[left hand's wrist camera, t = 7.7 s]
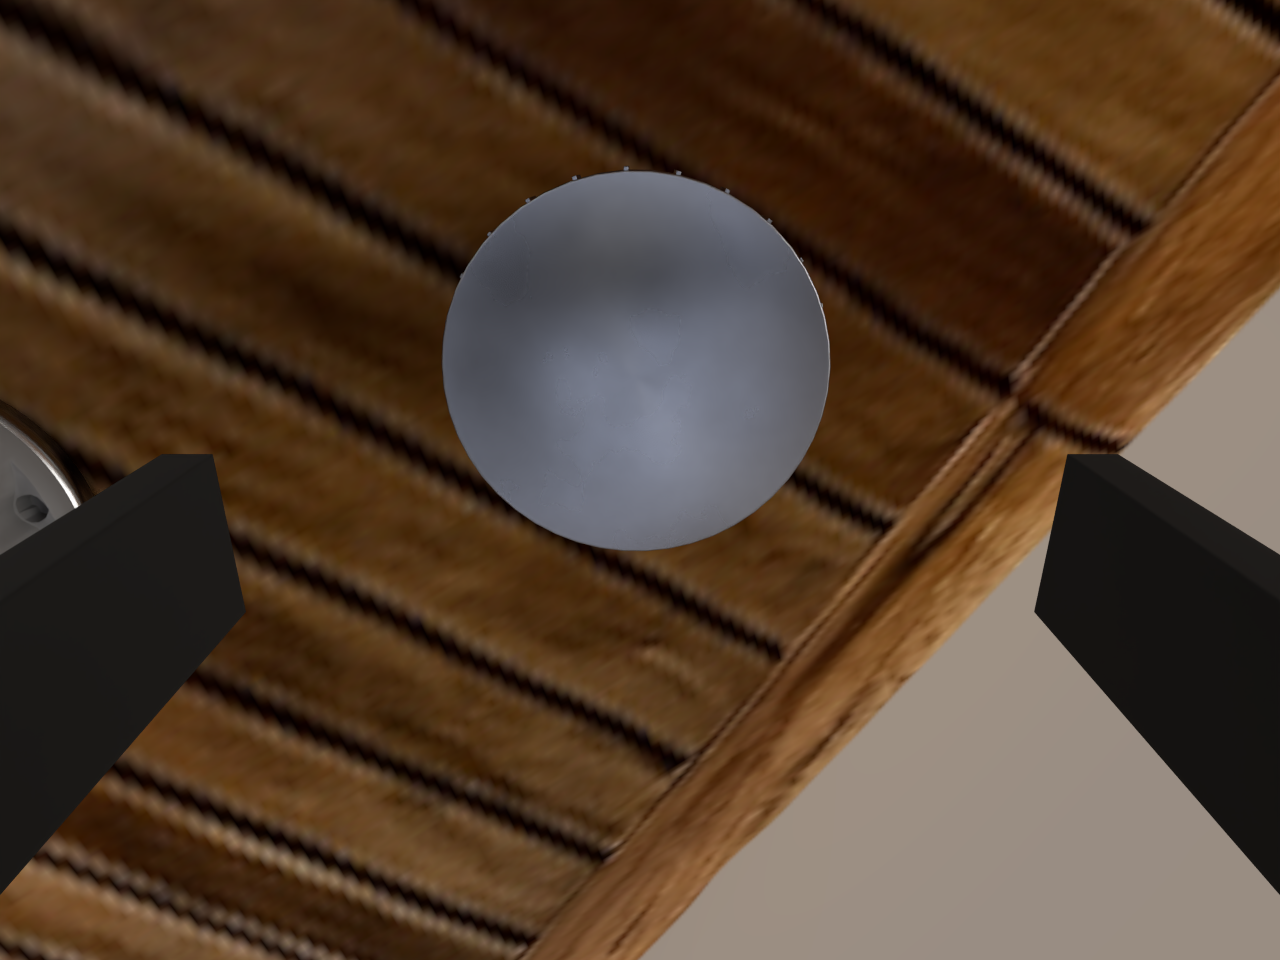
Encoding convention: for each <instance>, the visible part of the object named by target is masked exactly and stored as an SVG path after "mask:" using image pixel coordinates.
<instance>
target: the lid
mask: <svg viewBox="0 0 1280 960" xmlns="http://www.w3.org/2000/svg"><path fill="white" fill-rule="evenodd" d="M572 179H573V181H570V182H567V183H565V184H563V185H561V186H558V187H556V188H554V189H551V190H549V191H547V192H545V193H543V194H541V195H540V196H538V197H536V196H533V197H530V198H528V199H527V200H525V201H526V203H527V204H525V205H523V206H522V207H520V208H519V209H518V210H517V211H516V212H514V213H513V214H512V215H511V216H509V217H508V218H507V219H506V220H505V221H503V222H502V223H501V224H500V225H499V226H498V227H497V228H496V229H495V230H492V231H490V232H489V233H488V234H487V235H488V236H489V237H488V238H487V239H486V240H485V241H484V243H483V244H482V245H481V246H480V248H479V249H478V251H477V252H476V254H475V255H474V257H473V258H472V260H471V261H470V263H469V264H468V265H467V267H466V269H465V271H464V273H462V274H461V276H460V278H461V280H460V282H459V284H458V286H457V288H456V290H455V293H454V296H453V299H452V302H451V305H450V308H449V311H448V314H447V320H446V323H445V324H446V325H445V330H444V336H443V348H442V373H443V384H444V391H445V396H446V400H447V405H448V410H449V413H450V416H451V419H452V422H453V424H454V427H455V430H456V433H457V435H458V437H459V439H460V441H461V443H462V445H463V447H464V449H465V451H466V453H467V455H468V457H469V458H470V460H471V461H472V463H473V464H474V465H475V467H476V468H477V470H478V471H479V473H480V474H481V476H482V477H483V478H484V479H485V480H486V481H487V483H488V484H489V485H490V486H491V487H492V488H493V489H494V490H495V492H496V493H497V494H498V495H499V496H500V497H502V498H503V499H504V500H505V501H506V502H507V503H508V504H510V505H511V506H512V507H513V508H514V509H515V510H517V511H518V512H520V513H521V514H522V515H524V516H525V517H527V518H528V519H530V520H531V521H533V522H534V523H536V524H538V525H540V526H542V527H543V528H545V529H547V530H549V531H551V532H553V533H555V534H557V535H560V536H563V537H565V538H568V539H571V540H573V541H576V542H579V543H583V544H587V545H591V546H595V547H599V548H606V549H614V550H622V551H650V550H659V549H668V548H673V547H677V546H682V545H686V544H691V543H694V542H697V541H699V540H702V539H705V538H708V537H711V536H713V535H716V534H718V533H720V532H722V531H724V530H726V529H728V528H730V527H732V526H734V525H735V524H737V523H738V522H740V521H741V520H743V519H744V518H746V517H748V516H749V515H751V514H752V513H754V512H755V511H756V510H757V509H758V508H760V507H761V506H762V505H763V504H764V503H766V502H767V501H768V500H769V499H770V498H771V497H773V495H774V494H775V493H776V492H777V491H778V490H779V489H780V488H781V487H782V486H783V485H784V483H785V482H786V481H787V480H788V479H789V478H790V476H791V475H792V473H793V472H794V471H795V469H796V468H797V466H798V465H799V464H800V462H801V461H802V459H803V457H804V456H805V454H806V452H807V450H808V448H809V446H810V444H811V442H812V441H813V439H814V436H815V434H816V431H817V428H818V426H819V423H820V420H821V418H822V415H823V410H824V406H825V402H826V398H827V393H828V386H829V375H830V343H829V337H828V331H827V325H826V319H825V315H824V312H823V309H822V307H823V305H822V303H821V302H820V299H819V296H818V293H817V291H816V289H815V286H814V284H813V282H812V280H811V278H810V276H809V274H808V272H807V270H806V268H805V266H804V265H803V263H802V262H803V259H802V258H801V257H799V256H798V255H797V254H796V253H795V251H794V250H793V248H792V247H791V246H790V244H789V243H788V242H787V241H786V240H785V239H784V238H783V236H782V235H781V234H780V233H779V232H778V231H777V230H776V229H775V227H774V226H772V225H771V224H770V223H771V222H772V221H771V220H770V219H769V218H767V217H765V216H763V215H760V214H758V213H757V212H756V211H755V210H754V209H752V208H751V207H749V206H748V205H746V204H745V203H743V202H741V201H740V200H738V199H737V198H735V197H734V196H732V195H731V194H729V192H730V190H728V189H726V188H724V187H721V188H720V189H718V188H715V187H713V186H711V185H709V184H707V183H704V182H702V181H699V180H695V179H692V178H689V177H685V176H682V175H681V171H677V170H674V173H668V172H662V171H655V170H629V166H625V167H624V170H618V171H610V172H603V173H598V174H594V175H590V176H587V177H583V178H581V176H580V175H576V176H573V177H572Z"/></svg>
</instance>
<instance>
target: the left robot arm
mask: <svg viewBox="0 0 1280 960" xmlns="http://www.w3.org/2000/svg"><path fill="white" fill-rule="evenodd" d="M245 612H246V611H245V606H244V601H243V596H242V592H241V587H240V582H239V578H238V573H237V568H236V563H235V559H234V554H233V549H232V544H231V540H230V535H229V530H228V525H227V521H226V516H225V511H224V506H223V502H222V497H221V492H220V487H219V483H218V478H217V473H216V468H215V464H214V459H213V454H162V455H160V456H158V457H157V458H155V459H154V460H152V461H150V462H149V463H147V464H146V465H144V466H142V467H141V468H139V469H138V470H136V471H134V472H133V473H131V474H129V475H128V476H126V477H125V478H123V479H121V480H120V481H118V482H117V483H115V484H113V485H112V486H110V487H109V488H107V489H105V490H104V491H102V492H100V493H99V494H97V495H96V496H94V495H93V493H92V491H91V489H90V487H89V486H88V484H87V482H86V480H85V479H84V477H83V476H82V474H81V473H80V471H79V470H78V468H77V467H76V466H75V464H74V463H73V462H72V461H71V459H70V458H69V457H68V455H67V454H66V453H65V452H64V451H63V450H62V449H61V448H60V447H59V445H58V444H57V443H56V442H55V441H54V440H53V439H52V438H51V437H50V436H48V435H47V434H46V433H45V432H44V431H43V430H42V429H41V428H40V427H38V426H37V425H36V424H35V423H33V422H32V421H31V420H30V419H29V418H27V417H26V416H24V415H23V414H21V413H20V412H18V411H17V410H16V409H14V408H13V407H11V406H9V405H8V404H6V403H4V402H3V401H1V400H0V894H1V893H2V892H3V891H4V890H5V889H6V888H7V886H8V885H9V884H10V883H11V882H12V881H13V879H14V878H15V877H16V876H17V875H18V874H19V873H20V871H21V870H22V869H23V868H24V867H25V866H26V864H27V863H28V862H29V861H30V860H31V859H32V858H33V856H34V855H35V854H36V853H37V852H38V851H39V849H40V848H41V847H42V846H43V845H44V844H45V843H46V841H47V840H48V839H49V838H50V837H51V836H52V835H53V833H54V832H55V831H56V830H57V829H58V828H59V826H60V825H61V824H62V823H63V822H64V821H65V820H66V818H67V817H68V816H69V815H70V814H71V813H72V811H73V810H74V809H75V808H76V807H77V806H78V805H79V803H80V802H81V801H82V800H83V799H84V798H85V796H86V795H87V794H88V793H89V792H90V791H91V790H92V788H93V787H94V786H95V785H96V784H97V783H98V782H99V780H100V779H101V778H102V777H103V776H104V775H105V773H106V772H107V771H108V770H109V769H110V768H111V767H112V765H113V764H114V763H115V762H116V761H117V760H118V758H119V757H120V756H121V755H122V754H123V753H124V752H125V750H126V749H127V748H128V747H129V746H130V745H131V743H132V742H133V741H134V740H135V739H136V738H137V737H138V735H139V734H140V733H141V732H142V731H143V730H144V729H145V727H146V726H147V725H148V724H149V723H150V722H151V720H152V719H153V718H154V717H155V716H156V715H157V714H158V712H159V711H160V710H161V709H162V708H163V707H164V705H165V704H166V703H167V702H168V701H169V700H170V699H171V697H172V696H173V695H174V694H175V693H176V692H177V690H178V689H179V688H180V687H181V686H182V685H183V684H184V682H185V681H186V680H187V679H188V678H189V677H190V676H191V674H192V673H193V672H194V671H195V670H196V669H197V667H198V666H199V665H200V664H201V663H202V662H203V661H204V659H205V658H206V657H207V656H208V655H209V654H210V652H211V651H212V650H213V649H214V648H215V647H216V646H217V644H218V643H219V642H220V641H221V640H222V639H223V637H224V636H225V635H226V634H227V633H228V632H229V631H230V629H231V628H232V627H233V626H234V625H235V624H236V623H237V621H238V620H239V619H240V618H241V617H242V616H243V614H244V613H245ZM1034 612H1035V613H1036V614H1037V616H1038V617H1039V618H1040V619H1041V620H1042V621H1043V623H1044V624H1045V625H1046V626H1047V627H1048V628H1049V629H1050V631H1051V632H1052V633H1053V634H1054V635H1055V636H1056V637H1057V639H1058V640H1059V641H1060V642H1061V643H1062V644H1063V645H1064V647H1065V648H1066V649H1067V650H1068V651H1069V652H1070V654H1071V655H1072V656H1073V657H1074V658H1075V659H1076V661H1077V662H1078V663H1079V664H1080V665H1081V666H1082V667H1083V669H1084V670H1085V671H1086V672H1087V673H1088V674H1089V676H1090V677H1091V678H1092V679H1093V680H1094V681H1095V682H1096V684H1097V685H1098V686H1099V687H1100V688H1101V689H1102V690H1103V692H1104V693H1105V694H1106V695H1107V696H1108V697H1109V699H1110V700H1111V701H1112V702H1113V703H1114V704H1115V705H1116V707H1117V708H1118V709H1119V710H1120V711H1121V712H1122V714H1123V715H1124V716H1125V717H1126V718H1127V719H1128V720H1129V722H1130V723H1131V724H1132V725H1133V726H1134V727H1135V729H1136V730H1137V731H1138V732H1139V733H1140V734H1141V735H1142V737H1143V738H1144V739H1145V740H1146V741H1147V742H1148V743H1149V745H1150V746H1151V747H1152V748H1153V749H1154V750H1155V752H1156V753H1157V754H1158V755H1159V756H1160V757H1161V758H1162V760H1163V761H1164V762H1165V763H1166V764H1167V765H1168V767H1169V768H1170V769H1171V770H1172V771H1173V772H1174V773H1175V775H1176V776H1177V777H1178V778H1179V779H1180V780H1181V781H1182V783H1183V784H1184V785H1185V786H1186V787H1187V788H1188V790H1189V791H1190V792H1191V793H1192V794H1193V795H1194V796H1195V798H1196V799H1197V800H1198V801H1199V802H1200V803H1201V805H1202V806H1203V807H1204V808H1205V809H1206V810H1207V811H1208V813H1209V814H1210V815H1211V816H1212V817H1213V818H1214V819H1215V821H1216V822H1217V823H1218V824H1219V825H1220V826H1221V828H1222V829H1223V830H1224V831H1225V832H1226V833H1227V835H1228V836H1229V837H1230V838H1231V839H1232V840H1233V841H1234V843H1235V844H1236V845H1237V846H1238V847H1239V848H1240V849H1241V851H1242V852H1243V853H1244V854H1245V855H1246V856H1247V858H1248V859H1249V860H1250V861H1251V862H1252V863H1253V864H1254V866H1255V867H1256V868H1257V869H1258V870H1259V871H1260V873H1261V874H1262V875H1263V876H1264V877H1265V878H1266V879H1267V881H1268V882H1269V883H1270V884H1271V885H1272V886H1273V888H1274V889H1275V890H1276V891H1277V892H1278V893H1279V894H1280V555H1279V554H1278V553H1276V552H1275V551H1273V550H1271V549H1270V548H1268V547H1267V546H1265V545H1263V544H1262V543H1260V542H1258V541H1257V540H1255V539H1254V538H1252V537H1250V536H1249V535H1247V534H1246V533H1244V532H1242V531H1241V530H1239V529H1237V528H1236V527H1234V526H1233V525H1231V524H1229V523H1228V522H1226V521H1225V520H1223V519H1221V518H1220V517H1218V516H1217V515H1215V514H1213V513H1212V512H1210V511H1209V510H1207V509H1205V508H1204V507H1202V506H1200V505H1199V504H1197V503H1196V502H1194V501H1192V500H1191V499H1189V498H1188V497H1186V496H1184V495H1183V494H1181V493H1180V492H1178V491H1176V490H1175V489H1173V488H1171V487H1170V486H1168V485H1167V484H1165V483H1163V482H1162V481H1160V480H1159V479H1157V478H1155V477H1154V476H1152V475H1151V474H1149V473H1147V472H1146V471H1144V470H1142V469H1141V468H1139V467H1138V466H1136V465H1134V464H1133V463H1131V462H1130V461H1128V460H1126V459H1125V458H1123V457H1122V456H1120V455H1118V454H1067V459H1066V464H1065V468H1064V473H1063V478H1062V483H1061V487H1060V492H1059V497H1058V502H1057V506H1056V511H1055V516H1054V521H1053V525H1052V530H1051V535H1050V540H1049V544H1048V549H1047V554H1046V559H1045V563H1044V568H1043V573H1042V578H1041V582H1040V587H1039V592H1038V597H1037V601H1036V606H1035V611H1034Z"/></svg>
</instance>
